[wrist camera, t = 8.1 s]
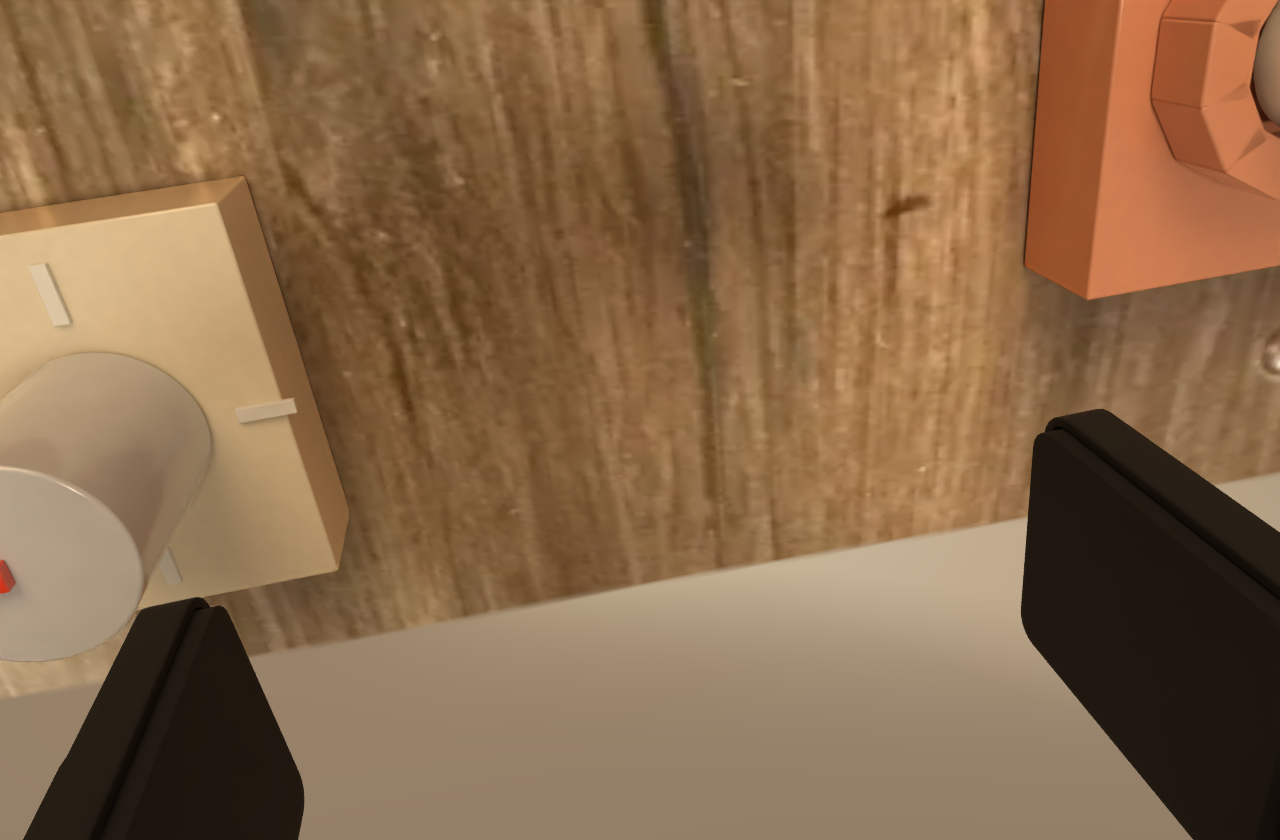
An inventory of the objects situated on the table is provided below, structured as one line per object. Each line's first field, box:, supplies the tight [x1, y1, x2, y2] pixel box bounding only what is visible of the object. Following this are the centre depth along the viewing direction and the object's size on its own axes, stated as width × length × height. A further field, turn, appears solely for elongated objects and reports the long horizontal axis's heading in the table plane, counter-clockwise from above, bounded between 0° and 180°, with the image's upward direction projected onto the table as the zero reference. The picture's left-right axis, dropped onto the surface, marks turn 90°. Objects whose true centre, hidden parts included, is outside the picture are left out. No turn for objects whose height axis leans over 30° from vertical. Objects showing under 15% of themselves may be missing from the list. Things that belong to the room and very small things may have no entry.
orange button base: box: [1025, 0, 1280, 300], centre depth 23 cm, size 12×9×5 cm
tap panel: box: [0, 176, 350, 610], centre depth 23 cm, size 10×9×3 cm
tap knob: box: [0, 353, 211, 662], centre depth 19 cm, size 4×4×6 cm
